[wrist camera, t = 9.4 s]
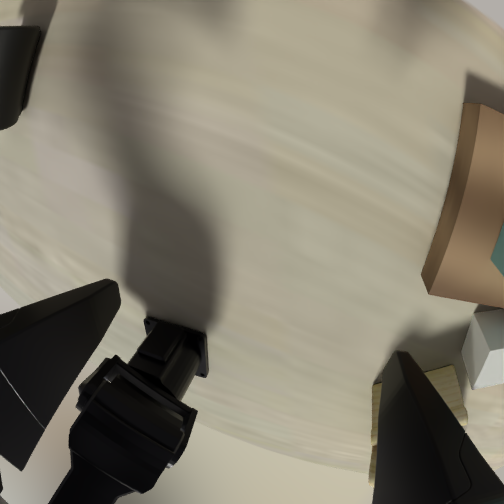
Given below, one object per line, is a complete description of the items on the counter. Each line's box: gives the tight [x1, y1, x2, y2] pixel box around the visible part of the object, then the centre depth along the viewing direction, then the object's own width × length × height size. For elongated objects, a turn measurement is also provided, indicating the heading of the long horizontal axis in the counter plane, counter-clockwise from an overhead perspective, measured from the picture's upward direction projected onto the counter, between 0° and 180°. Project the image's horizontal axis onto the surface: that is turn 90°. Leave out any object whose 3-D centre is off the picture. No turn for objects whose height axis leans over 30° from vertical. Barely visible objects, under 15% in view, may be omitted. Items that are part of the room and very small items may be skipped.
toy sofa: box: [369, 365, 468, 489], centre depth 21 cm, size 21×9×10 cm, turn 24°
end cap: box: [0, 26, 41, 130], centre depth 15 cm, size 10×7×7 cm
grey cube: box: [461, 309, 504, 390], centre depth 16 cm, size 4×4×4 cm
